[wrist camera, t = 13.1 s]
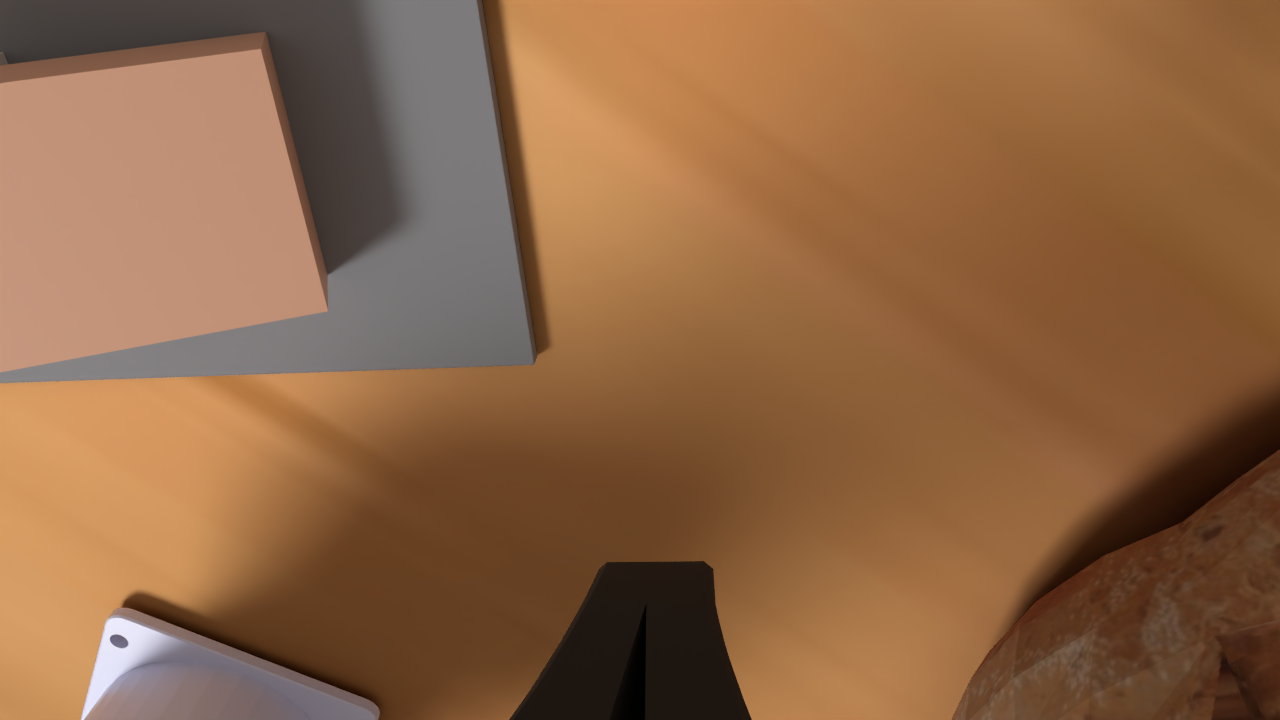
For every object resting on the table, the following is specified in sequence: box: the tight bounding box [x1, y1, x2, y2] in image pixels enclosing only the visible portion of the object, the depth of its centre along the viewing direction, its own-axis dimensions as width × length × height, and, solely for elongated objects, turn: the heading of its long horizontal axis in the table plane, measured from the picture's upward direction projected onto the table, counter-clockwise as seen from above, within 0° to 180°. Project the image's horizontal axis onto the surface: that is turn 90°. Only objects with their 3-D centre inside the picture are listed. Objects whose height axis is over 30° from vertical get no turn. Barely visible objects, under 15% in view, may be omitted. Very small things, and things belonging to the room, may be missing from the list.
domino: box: [0, 32, 328, 372], centre depth 19 cm, size 2×5×9 cm
